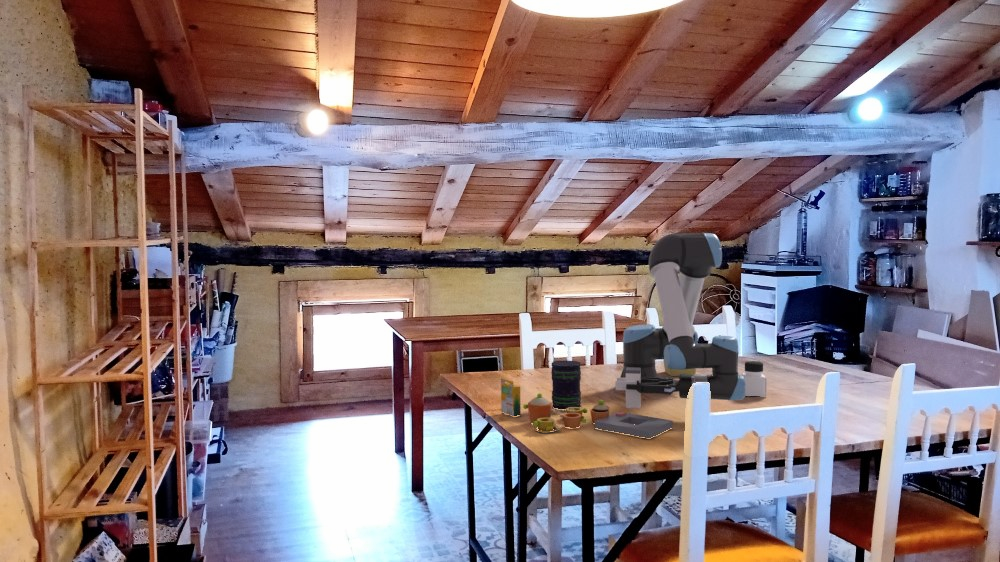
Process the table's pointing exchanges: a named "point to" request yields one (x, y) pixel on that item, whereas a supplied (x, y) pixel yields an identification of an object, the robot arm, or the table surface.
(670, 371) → the cheese
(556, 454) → the table surface
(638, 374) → the plug
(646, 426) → the socket
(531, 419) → the toy tea set
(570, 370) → the storage jar
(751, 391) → the medicine bottle
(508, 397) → the crayon box
